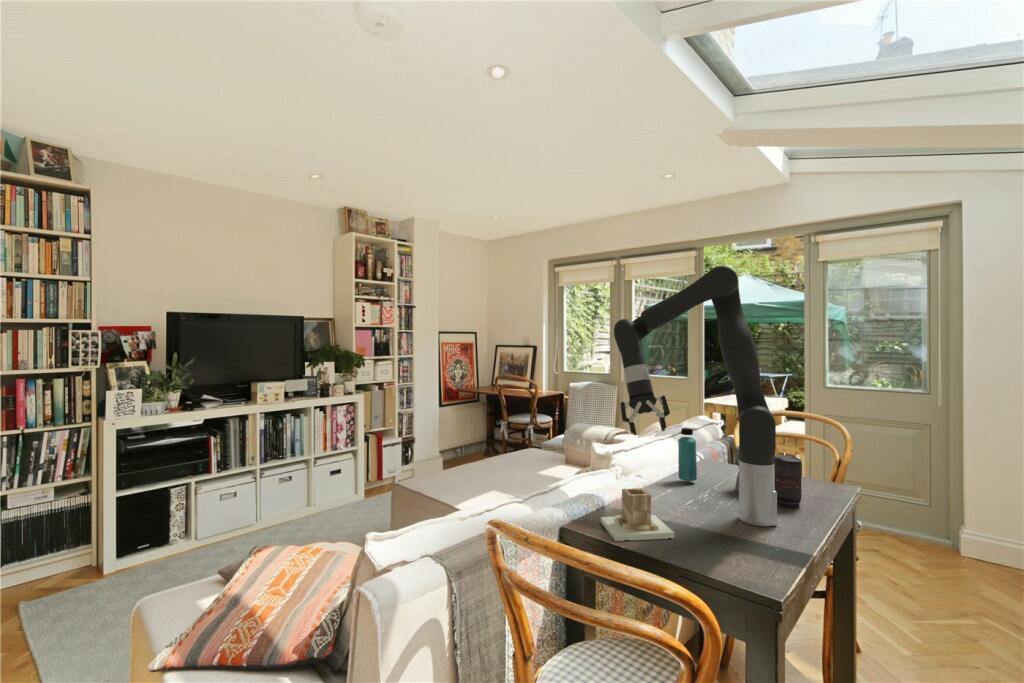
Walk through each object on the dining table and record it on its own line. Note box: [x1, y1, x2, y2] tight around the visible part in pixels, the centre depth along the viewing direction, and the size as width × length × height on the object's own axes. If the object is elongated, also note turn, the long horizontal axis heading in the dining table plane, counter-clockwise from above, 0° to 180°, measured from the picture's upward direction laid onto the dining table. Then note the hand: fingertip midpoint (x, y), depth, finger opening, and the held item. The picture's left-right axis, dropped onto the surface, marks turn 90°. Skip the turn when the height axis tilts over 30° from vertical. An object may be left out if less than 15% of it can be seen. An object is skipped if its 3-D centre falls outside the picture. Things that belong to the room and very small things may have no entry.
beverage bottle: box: [677, 427, 698, 482], centre depth 176 cm, size 6×7×20 cm
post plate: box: [600, 514, 675, 542], centre depth 132 cm, size 16×13×8 cm
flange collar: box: [614, 487, 658, 532], centre depth 132 cm, size 9×9×9 cm
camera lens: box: [775, 454, 803, 509], centre depth 152 cm, size 8×8×15 cm
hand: (649, 432), depth 146 cm, fingers open, 8 cm apart
